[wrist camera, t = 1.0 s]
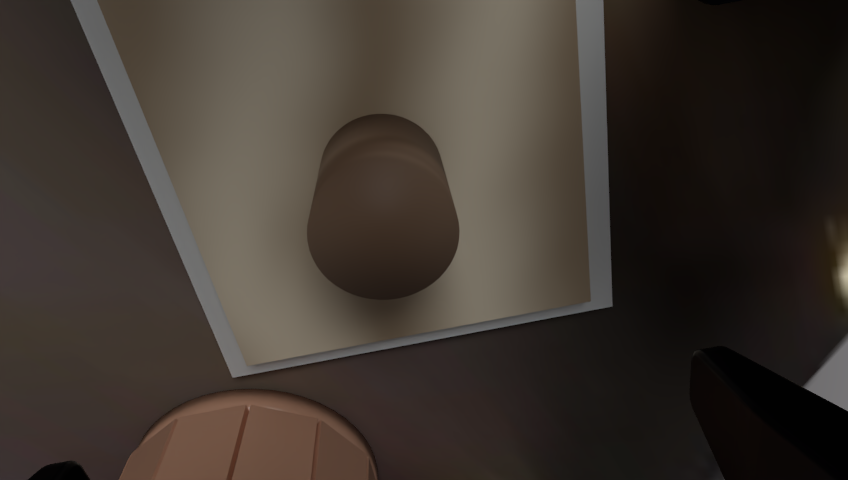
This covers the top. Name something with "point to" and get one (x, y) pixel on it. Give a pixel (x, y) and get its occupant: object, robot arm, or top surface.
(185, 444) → the bowl
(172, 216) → the mat
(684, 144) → the top surface
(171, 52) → the cover
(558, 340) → the top surface
